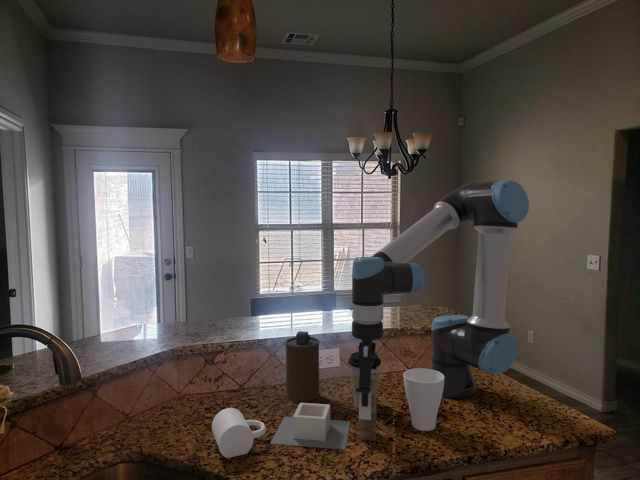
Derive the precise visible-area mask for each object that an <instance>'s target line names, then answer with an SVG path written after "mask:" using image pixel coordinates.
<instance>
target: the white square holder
mask: <svg viewBox="0 0 640 480" xmlns="http://www.w3.org/2000/svg"><path fill="white" fill-rule="evenodd" d="M292 415H293V416H292V417H293V439H305V440H318V441H326V438H327V434H328V431H329V428H330V420H331V404H326V403H325V404H324V403H323V404H322V403H311V402H310V403H309V402H300V403H299V404H298V405H297V408H296V409H295V411H294V414H292Z"/></svg>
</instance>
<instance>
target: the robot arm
mask: <svg viewBox="0 0 640 480" xmlns="http://www.w3.org/2000/svg"><path fill="white" fill-rule="evenodd" d="M529 208H530V202H529V196H528V194H527V192H526V190H525V189H524V187H523V186H522V185H521V184H520V183H519V182H517V181H515V180H509V179H508V180H507V179H506V180H505V179H498V180H490V181H482V182H470V183H466V184H463V185H462V186H460V187H458V188H456V189H455V190H453V191H451V192H449V193H448V194H447V195H445V196H444V197H442V198H441V199H440V200H438V201H437V202H436V203H434V205H433V209H431V211H429V212H428V213H427V214H425V215H424V216H422V217H421V218H420V219H419V220H418V221H416V222H415V223H414V224H412V225H411V226H410V227H409V228H407V229H406V230H405V231H403V232H402V233H400V234H399V235H397V237H395V238H394V239H393V240H391V241H390V242H388V243H387V244H386V245H385V246H383V247H382V248H381V249H380V250H378V251H377V252H376V253H374V254H372V255H371V256H359V257H355V258H354V259H353V260H352V270H351V286H352V288H351V295H352V296H351V297H352V299H351V301H352V302H351V303H352V304H351V306H349V310H350V311H352V312H351V318H352V320H353V321H352V322H351V335H352V337H353V338H355V339H357V340H361V341H360V342H359V345H358V352H359V363H360V375H359V388H356V392H359V408H358V420H359V419H367V420H371V389H370V387H371V373H374V370H372V369H376V365H374V355H375V354H376V348H377V347H376V344H377V343H376V342H374V340H375V341H376V340H380V339H382V338H383V337H384V336H383V335H384V322H383V320H384V296H386V295H387V296H389V295H395V294H396V295H398V294H411V293H417V292H419V291H421V290H422V289H423V288H424V285H425V283H426V281H425V280H426V278H425V277H426V274H425V271H424V269H423V267H422V266H421V265H420V264H419V263H416V262H409V261H411V259H413V258H414V257H416V256H417V255H418V254H420V253H421V252H422V251H423V250H424V249H426V248H427V247H428V246H430V245H431V244H432V243H433V242H434V241H436V240H437V239H439V238H440V237H441V236H442V235H443V234H445V232H447V231H449V230H450V229H451V230H454V229H457V228H458V227H459V226H460V225H463V224H465V223H470V222H473V228H474V229H475V230H476V231H477V232H478V241H477V252H476V264H475V265H476V266H475V267H476V269H475V279H474V292H473V307H472V315H471V316H467V315H459V314H458V315H456V314H455V315H454V314H452V315H442V316H436V317H435V318H433V319H432V322H431V323H432V325H431V330H430V331H431V332H430V333H431V364H430V367H429V369H432V370H435V371H438V372H440V373H442V374H443V375H444V377H445V379H444V389H443V393H442V397H444V398H449V399H450V398H452V399H462V398H463V399H464V398H469V397H472V396H473V395H475V394H476V392H477V390H476V389H477V387H476V386H477V383H476V380H475V378H474V375H473V371H472V368H471V367H473V368H474V367H475V368H477V369H478V370H481V371H482V372H486V373H491V374H493V375H499V374H503V373H505V372H506V371H508V370H509V369H510V368H511V366H512V365H513V364H514V363H515V361H516V358H517V355H518V351H519V350H518V347H519V345H518V342H517V340H516V338H515V337H514V336H513V335H512V334H510V329H511V326H510V324H509V323H508V322H507V321H506V319H505V317H506V304H507V292H508V278H509V269H510V268H509V266H510V252H511V251H510V250H511V239H512V235H513V234H514V233H515V232H517V231H518V228H519V225H518V224H519V223H520V222H522V221H523V220H525V218H526V216H527V215H528V214H529ZM362 386H367V387H362Z"/></svg>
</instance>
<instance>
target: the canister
mask: <svg viewBox="0 0 640 480" xmlns="http://www.w3.org/2000/svg"><path fill="white" fill-rule="evenodd" d="M295 335H296V336H294V337H290V338H287V339H285V342H284V344H285V380H286V381H285V382H286V383H285V384H286V385H285V386H286V388H285V389H286V391H285V392H286V394H285V396H286V398H287V399H288V400H290V401H293V402H300V403H308V402H311V401H314V400H317V399H320V397H321V393H320V345H319V344H320V339H318V338H316V337H313V336H310V334H309V331H297V333H296V334H295Z"/></svg>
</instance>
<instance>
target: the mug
mask: <svg viewBox="0 0 640 480" xmlns="http://www.w3.org/2000/svg"><path fill="white" fill-rule="evenodd" d="M252 426H256V427H259V428H258V429H257V430H251V428H250V427H252ZM266 430H267V426H266V424H265V423H264V422H263V421H261V420H256V419H245V417H244V415H243V413H242V412H241V411H240V410H239V409H237V408H234V407H227V408H224V409H222V410H219V412H218V413H217V414H216V415H215V416H214V417H213V420H212V423H211V432H212V434H213V436H214V439H215V441H216V442H215V443H216V444H217V447H218V450H219V452H220V454H221V455H222V456H223V457H224V458H226V459H230V458H233V457H238V456H242V455H246V454H247V455H248V453H249V452H250V451H251V449H252V447H253V445H254V440H255V438H258V437H261V436H263V435H264V434H266V432H267V431H266Z"/></svg>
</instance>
